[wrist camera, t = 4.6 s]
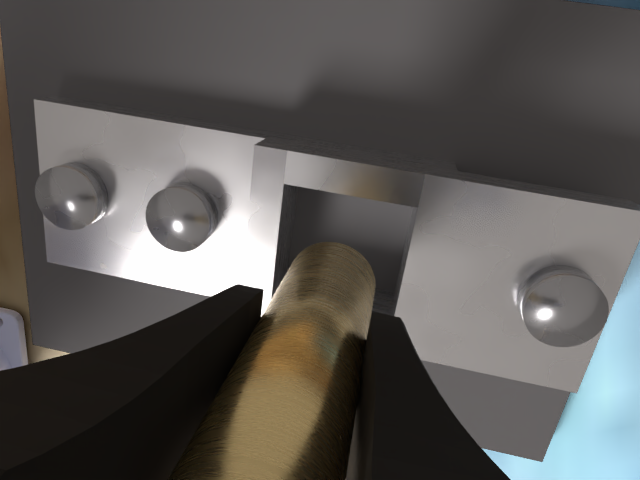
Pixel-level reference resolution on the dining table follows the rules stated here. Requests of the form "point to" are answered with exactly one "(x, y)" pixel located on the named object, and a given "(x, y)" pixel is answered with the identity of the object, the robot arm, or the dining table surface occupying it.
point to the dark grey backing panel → (338, 130)
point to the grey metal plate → (348, 179)
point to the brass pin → (292, 379)
